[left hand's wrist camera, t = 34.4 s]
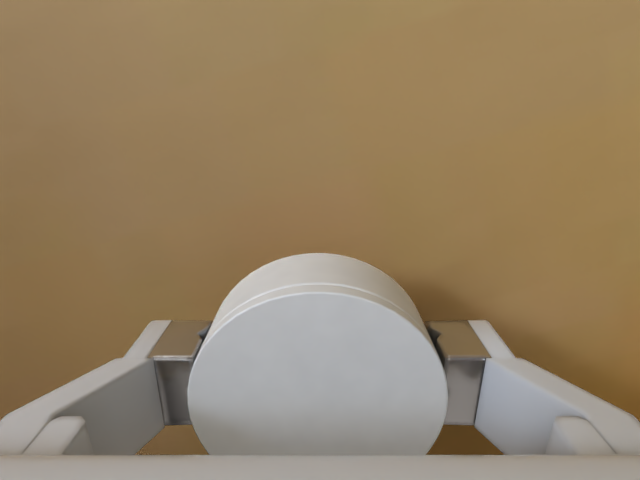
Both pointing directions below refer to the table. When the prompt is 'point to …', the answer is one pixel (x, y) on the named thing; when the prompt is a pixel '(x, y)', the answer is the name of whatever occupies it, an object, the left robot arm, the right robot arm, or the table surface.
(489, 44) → the table surface
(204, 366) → the lid
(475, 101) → the table surface
